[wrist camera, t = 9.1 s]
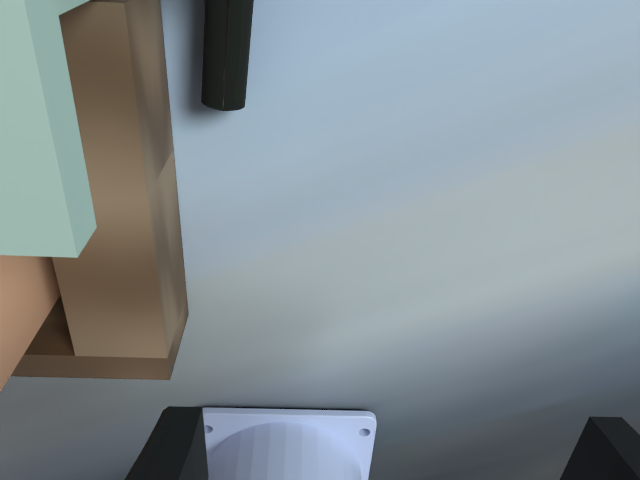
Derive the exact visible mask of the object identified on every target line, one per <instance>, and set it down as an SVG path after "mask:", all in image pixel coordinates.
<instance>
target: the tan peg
mask: <svg viewBox="0 0 640 480" xmlns="http://www.w3.org/2000/svg"><path fill="white" fill-rule="evenodd" d="M60 295H61V293H60V289H59V285H58V281H57V276H56V272H55V268H54V264H53V260H52V257H42V256H12V255H0V392H1V390H2V389H3V387H4V386H5V384H6V382H7V381H8V379H9V377H10V376H11V374H12V373H13V371H14V369H15V368H16V366H17V364H18V363H19V361H20V360H21V358H22V356H23V355H24V353H25V351H26V350H27V348H28V347H29V345H30V343H31V342H32V340H33V338H34V337H35V335H36V334H37V332H38V330H39V329H40V327H41V325H42V324H43V322H44V321H45V319H46V317H47V316H48V314H49V312H50V311H51V309H52V308H53V306H54V304H55V303H56V301H57V299H58V298H59V296H60Z"/></svg>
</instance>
